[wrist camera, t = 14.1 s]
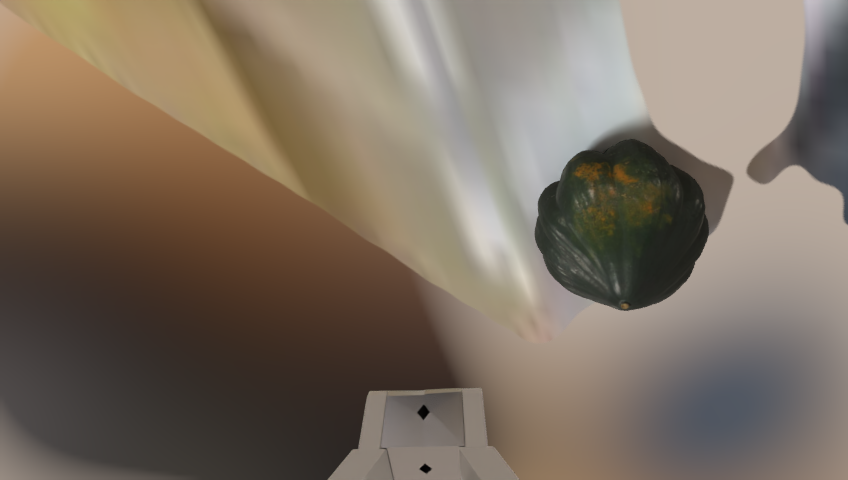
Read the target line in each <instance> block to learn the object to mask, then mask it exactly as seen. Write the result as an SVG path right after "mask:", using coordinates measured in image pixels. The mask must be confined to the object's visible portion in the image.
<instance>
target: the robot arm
mask: <svg viewBox="0 0 848 480" xmlns="http://www.w3.org/2000/svg"><path fill="white" fill-rule="evenodd" d="M462 399H463V400H462ZM328 480H519V478H518V477H517V476H516V475H515V473H514V472H513V471H512V469H511V468H510V467H509V466H508V464H507V463H506V462H505V460H504V459H503V458H502V457H501V455H500V454H499V453H498V451H497V450H496V449H495V448H494V447H492V446H488V443H487V433H486V423H485V413H484V404H483V394H482V390H481V388H468V389H462V388H454V389H433V390H425V391H370V392H369V394H368V396H367V401H366V407H365V412H364V418H363V424H362V430H361V436H360V442H359V448H358V449H354V450H352V451H351V452H350V454H349V455H348V456H347V457H346V458H345V459H344V461H343V462H342V463H341V464H340V466H339V467H338V468H337V469H336V470H335V472H334V473H333V474H332V475H331V476H330V478H329V479H328Z"/></svg>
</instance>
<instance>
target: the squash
mask: <svg viewBox="0 0 848 480" xmlns="http://www.w3.org/2000/svg"><path fill="white" fill-rule="evenodd" d="M538 213H539V216H538V218H537V223H536V228H535V240H536V243H537V246H538V248H539V249H540V251H541V253H542V254H543V258H544V261H545V264H546V266H547V269H548V271H549V272H550V274H551V275H552V276H553V277H554V278H555V280H557V281H558V282H559V283H560V284H561V285H562V286H563V287H565V288H566V289H567V290H569V291H570V292H572V293H574V294H576V295H579V296H581V297H583V298H587V299H590V300H592V301H595V302H598V303H601V304H604V305H607V306H610V307H613V308H615V309H618V310H624V311H628V310H634V309H639V308H643V307H647V306H650V305H652V304H656V303H659V302H661V301H663V300H664V299H666V298H668V297H669V296H671V295H672V294H673V293H675V292H676V290H678V289H679V288H680V287H681V286H682V284H684V283H685V282H686V281H687V279H688V278H689V277H690V274H691V273H692V270H693V268H694V265H695V261H696V260H697V259H698V258H699V257H700V255H701V253H702V251H703V249H704V246H705V243H706V242H707V238H708V235H709V227H708V220H707V218H706V215H705V204H704V198H703V192H702V190H701V188H700V186H699V185H698V183H697V182H696V180H695V179H693V178H692V177H691V176H690V175H688V174H687V173H685V172H684V171H681V170H680V169H678V168H676V167H675V166H673V165H669V163H668V162H667V161H666V160H665V158H664V157H662V156H661V155H660V154H659V153H657V152H656V151H655V150H654V149H653V148H651V147H650V146H648V145H646V144H644V143H642V142H640V141H637V140H633V139H630V140H625V141H622V142H619V143H618V144H616V145H614V146H612V147H611V148H609V149H608V150H607V151H606V152H605V153H604V154H602V153H600V152H596V151H589V150H587V151H582V152H580V153H578V154H577V155H575V156H574V157H573V158H572V159H571V160H570V161H569V162H568V163H567V165H566V167H565V168H564V170H563V172H562V175H561V179H560V181H557V182H554V183H552V184H550V185H549V186H548V187H547V188H545V190H544V191H543V193H542V194H541V196H540V198H539V201H538Z"/></svg>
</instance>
